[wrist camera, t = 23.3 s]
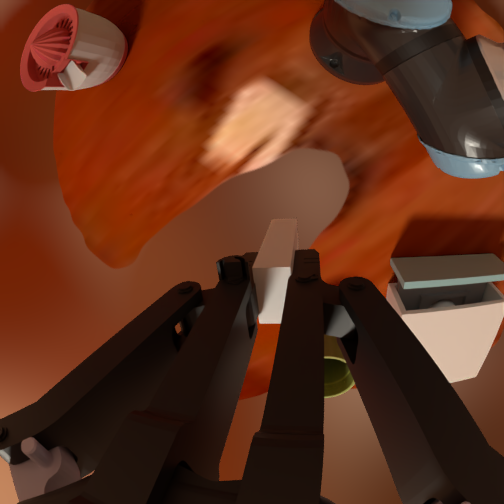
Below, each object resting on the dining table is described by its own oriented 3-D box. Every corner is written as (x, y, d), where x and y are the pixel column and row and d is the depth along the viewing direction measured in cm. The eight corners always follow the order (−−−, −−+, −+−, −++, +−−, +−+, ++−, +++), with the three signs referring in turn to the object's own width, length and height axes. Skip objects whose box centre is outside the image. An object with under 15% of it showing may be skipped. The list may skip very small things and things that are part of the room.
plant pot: (327, 306, 51) (329, 346, 41) (363, 339, 53) (369, 378, 43) (284, 338, 56) (277, 378, 46) (320, 366, 58) (320, 405, 48)
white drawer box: (388, 283, 47) (402, 314, 38) (485, 276, 42) (508, 301, 33) (374, 359, 54) (380, 393, 45) (462, 348, 49) (475, 376, 40)
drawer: (390, 258, 44) (404, 282, 37) (493, 253, 39) (514, 272, 31) (375, 357, 53) (380, 386, 46) (465, 345, 48) (477, 369, 40)
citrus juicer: (97, 114, 44) (19, 120, 26) (72, 60, 39) (2, 55, 21) (153, 62, 38) (77, 40, 20) (121, 11, 34) (54, -15, 16)
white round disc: (426, 301, 44) (429, 307, 42) (459, 298, 42) (463, 303, 40) (418, 334, 47) (421, 340, 45) (450, 329, 45) (453, 335, 44)
